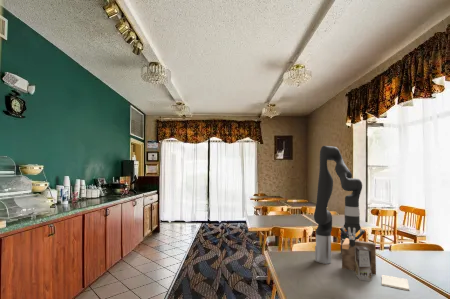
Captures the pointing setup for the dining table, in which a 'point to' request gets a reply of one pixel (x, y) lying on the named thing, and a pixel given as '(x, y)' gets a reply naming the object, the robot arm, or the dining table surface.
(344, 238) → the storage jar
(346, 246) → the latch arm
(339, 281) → the dining table surface
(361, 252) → the coffee box
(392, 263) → the dining table surface
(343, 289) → the dining table surface
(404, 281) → the cream pad
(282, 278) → the dining table surface
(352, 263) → the brown wooden flat panel
